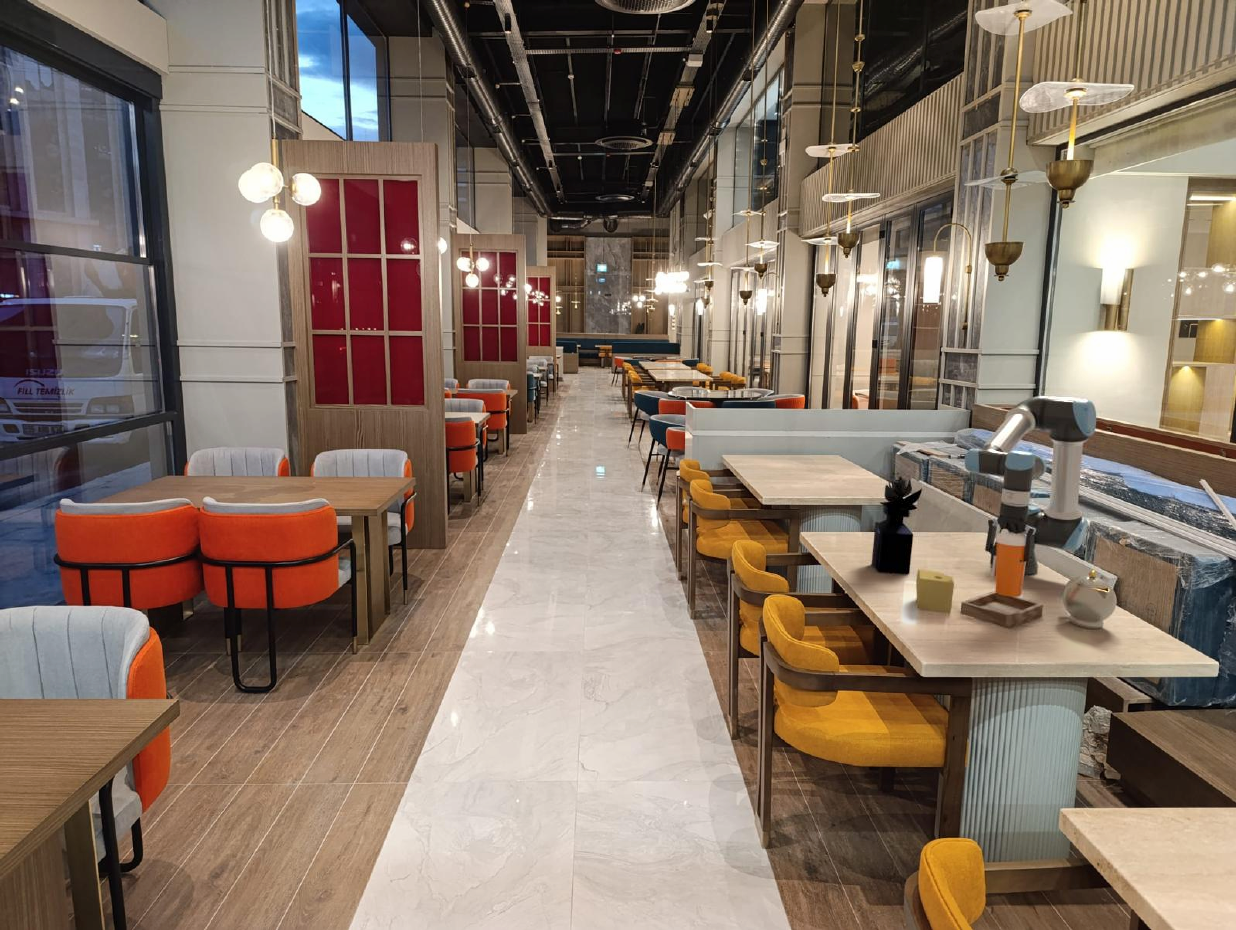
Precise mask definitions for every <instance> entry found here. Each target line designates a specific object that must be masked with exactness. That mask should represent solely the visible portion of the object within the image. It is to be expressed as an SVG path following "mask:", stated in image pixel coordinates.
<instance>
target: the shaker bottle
mask: <svg viewBox="0 0 1236 930" xmlns="http://www.w3.org/2000/svg"><path fill="white" fill-rule="evenodd" d="M1010 531H1013V530H1008V529H1007V528H1000V527H999V532H1000V533H999V532H998V533H997V534H996V535H995V542H997V548H996V577H995V589H994V591H995V592H996V593H998V594H1000V595H1003V596H1010V597H1021V596H1022V594H1023V593H1022V591H1023V586H1024V579H1025V574H1024V572H1025V565H1026V562H1023V561H1022V562H1020V561H1021V560H1024V557H1025V547H1026V536H1027V535H1026V529H1025V530H1022V532H1021V533H1018V534H1015V533H1013V532H1010ZM1017 531H1018V530H1017Z"/></svg>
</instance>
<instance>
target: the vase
mask: <svg viewBox="0 0 1236 930" xmlns="http://www.w3.org/2000/svg"><path fill="white" fill-rule="evenodd" d="M892 475H895V476H897V475H898V479H896V478H895V477H893V476H892ZM892 475H891V476H890V479H894V480H891V481H890V480H888V484H885V485H884V498H885V500H886V501H885V502H884V501H883V502H881V501H880V502H878V503H879V504H880V505H882V506H883V509H882V512H883V514H885V515H886V519H884V520H882V521H880V522H878V523H877V524H875V525H874V534H873V544H872V555H871V565H872V567H873V568H874V570H875V571H876V572H877V573H878V574H893V573H894V574H896V575H908V574H909V575H910V570H911V560H912V550H913V541H914V534H913V532H912V531H911V530H910V529H909V528H908V526H907V525H906V524H905V523H904V519H905V518H910V516H911V515H910V513H911V511H914V510H917V509H918V507H917V506H915V503H917V502H918V501H919V499H920V498H921V497H920V496H921V494H922V491H923V488H920V489H919V490H917V491H915V492H912V490H913V486H912V483H911V479H910V478H909V479H908V483H907V479H906V478H903V477H902V476H901V475H900V474H899V472H897V473H895V472H893V473H892ZM906 483H907V484H906ZM906 485H907V486H906Z"/></svg>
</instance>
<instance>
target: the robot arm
mask: <svg viewBox="0 0 1236 930" xmlns="http://www.w3.org/2000/svg"><path fill="white" fill-rule="evenodd" d="M1096 424H1097V411H1096V407H1095V405H1094V403H1093V401H1091V400H1089V399H1083V398H1078V397H1076V398H1075V397H1062V396H1061V397H1059V396H1048V395H1039V396H1033V397H1030V398H1027V399H1024V400H1023V401H1021V402H1018V403H1017V404H1015V405H1014V406H1013V407H1012V408H1010V409H1009V410H1008V412H1007V413H1006V414H1005V417H1004V421H1003V423H1001V424H1000V426H999V427H998V428H997V429H996V431H995V432H994V433H993V434H992V435H991V436H990V437H989V439H988V440H987V441H986V442H985V444H983V446H982V447H981V448H968V450H967V452H966V454H965V455H964V456H965V457H964V469H965V470H966V471H967V472H971V473H975V474H981V475H987V476H988V475H989V476H994V477H995V476H996V477H1003V482H1002V489H1001V499H1000V501H1001V503H1000V506H999V516H998V518H991V519H988V520H987V523H988V531H987V537H986V542H985V547H984V550H985V552H988V553H990V561H989V564H990V565H991V566H992V568H991V576H990V577H992V578H996V548H997V542H996V535H997V534H996V533H997V528H998V527H997V526H998V525H999V529H1000V528H1007V529H1008V530H1013V531H1010V532H1013V533H1015V534H1018V533H1021V532H1022V530H1025V529H1026V535H1027V536H1026V547H1025V557H1024V560H1021V561H1020V562H1022V561H1023V562H1026V565H1025V572H1024V575H1033V574H1037V573H1038V570H1039V565H1038V559H1037V555H1036V550H1035V548H1036V545H1039V546H1044V547H1047V548H1054V549H1058V550H1062V551H1070V552H1071V551H1072V552H1075V551H1077V550H1078V549H1080V547H1081V546H1082V544H1083V541H1084V539H1085V536H1086V534H1087V530H1088V524H1089V523H1088V520H1087V519H1085V518H1083V512H1082V510H1080V509H1079V496H1080V485H1081V484H1080V483H1081V482H1080V481H1081V471H1082V459H1083V457H1082V456H1083V445H1084V443H1085V442H1087V441H1089V438H1090V436H1093V435H1094V433H1095V432H1096V428H1097V427H1096V426H1097V425H1096ZM1032 431H1043V432H1044V431H1045V432H1048V433H1049V434H1048V438H1049V439H1050V440H1051V442H1053V448H1052V461H1051V462H1052V463H1051V464H1052V465H1051V477H1050V478H1051V479H1050V492H1049V493H1050V494H1049V506H1047V507H1045V508H1044V511H1041V507H1039V506H1035V505H1029V504H1030V503H1031V502H1030V500H1031V493H1032V492H1031V491H1032V484H1033V481H1035V480H1038V479H1040V478H1041V477H1042V476H1044V474H1045V473H1046V471H1047V462H1046V461H1045V459H1044V458H1043V457H1042V456H1040V455H1037V454H1034V453H1033V452H1029V451H1024V450H1013V449H1014V448H1015V447H1016V446H1017V444H1018V443H1019V442H1020V441H1021V439H1023V437H1024V436H1025V434H1029V433H1031V432H1032ZM1017 530H1018V531H1017ZM998 533H1000V531H999V532H998Z"/></svg>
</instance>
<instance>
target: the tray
mask: <svg viewBox="0 0 1236 930" xmlns="http://www.w3.org/2000/svg"><path fill="white" fill-rule="evenodd" d="M1043 609H1044V604H1042V603H1039V602H1036V601H1032V600H1029V599H1026V598H1022V597H1020V596H1018V597H1010V596H1003V595H1000V594H998V593H996V592H995V590H993V591H990V592H987V593H984V594H981V595H978V596H976V597H973V598H970V599H968V600H964V601H961V604H960V612H959V614H960V615H964V616H967V617H970V618H973V619H977V620H979V621H982V622H986V623H989V624H992V625H995V626H998V627H1001V628H1004V629H1007V630H1011V629H1014V628H1016V627H1017V626H1021V625H1024V624H1026V623H1028V622H1031V621H1033V620H1035V619H1039V618H1040V617H1042V615H1043V611H1044V610H1043Z"/></svg>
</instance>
